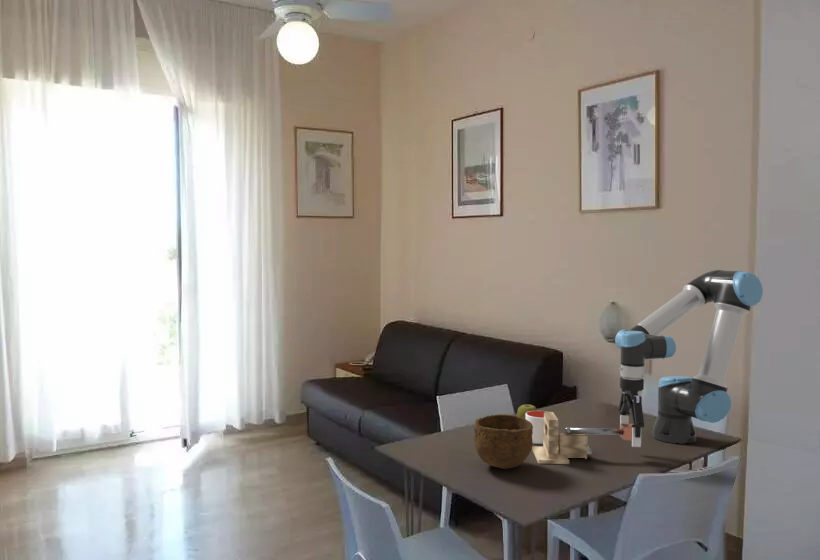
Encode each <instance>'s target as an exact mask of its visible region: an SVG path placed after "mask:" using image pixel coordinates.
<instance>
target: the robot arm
mask: <svg viewBox="0 0 820 560" xmlns="http://www.w3.org/2000/svg"><path fill="white" fill-rule="evenodd" d="M763 289H764V288H763V284H762V282H761V279H760V278H759V277H758V276H757V275H756V274H754V273H752V272H751V271H750V272H749V271H743V270H723V269H715V270H710V271H707V272H705V273H702V274H701V275H699V276H697V277H696V278H694V279H692V280H691V281H689V282H688V283H686V284H685V285H684V286H683V287H682V291H680V292H679V293H678V294H676V295H675V296H674V297H672V298H671V299H670V300H669V301H667V302H666V303H664V304H663V305H662V306H661V307H658V309H656V310H655V311H653V312H652V313H651V314H649V315H648V316H647V317H645V318H644V319H643V320H642V321H640V322H638V324H636V325H634V326H633V327H632V328H630V329H621V330H619V331H618V332H617V333H616V335H615V339H614V341H615V345H616V347H617V348H618V349H620V367H618V370H619V372H620V373H619V375H620V377H619V388H620V389H621V395H620V400H619V405H618V409H617V410H618V412H619V415H620V416H619V422H620V423H619V425H620V424H630V423H629V422H630V415H631V419H632V424H633V425H632V426H631V427H632V440H631V447H632V448H641V447H642V430H643V429H642V428H644V427H645V421H644V413H643V412H644V411H643V404H642V403H643V401H642V399H643V398H642V396H641V395H639V392H642V391H643V390H644V387H645V385H644V383H645V380H644V379H643V378H644V377H645V360H653V359H654V360H655V359H667V358H672V357H673V356H674V355H675V354H676V350H677V343H676V341H675V339H674V338H673V337H672V336H670V335H662V333H664V332H665V331H667V330H668V329H669V328H671V327H672V326H673V325H674V324H676V323H677V322H678V321H680V320H682V319H683V318H684V317H685V316H686V315H688V314H689V313H691V312H693V310H694V309H696V308H702V307H703V306H705V305H706V304H708V303H713V305H714V307H715V308H716V309H715V310H716V311H715V315H714V319H713V322H712V325H711V329H710V333H709V336H708V339H707V343H706V346H705V350H704V353H703V357H702V361H701V363H700V367H699V371H698V374H696V375H694V376H692V377H691V376H687V375H669V376H662V377H661V378H659V381H658V386H657V388H658V389H657V390H658V391H657V394H658V395H657V397H658V399H657V401H658V402H657V417H656V418H655V423H654V425H653V427H652V434H651V435H652V437H653V438H654V439H655V440H657V441H658V440H659V441H661V442H665V443H669V444H670V443H671V444H676V443H679V444H680V445H686V443H689V444H693V442H694V443H696V442H697V433H696V429H695V426H694V422H693V418H695V419H697V420H699V421H702V422H706V423H710V424H712V423H713V424H714V423H719V422H720V421H722V420H724V419H725V418H726V416H727V415H728V414H729V413H730V410H731V407H732V400H731V396H730V395H729V394H728V393H727V392H728V386H727V383H726V378H727V375H728V370H729V367H730V363H731V360H732V356H733V353H734V349H735V347H736V342H737V339H738V335H739V332H740V328H741V324H742V321H743V318H744V316H746V315H747V314H749V313H750V311H751V308H752V307H754V306H757V305H758V303H760V302H761V300H762V297H763V291H764V290H763ZM679 444H678V445H679Z"/></svg>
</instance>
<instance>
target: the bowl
mask: <svg viewBox="0 0 820 560" xmlns="http://www.w3.org/2000/svg"><path fill="white" fill-rule="evenodd" d="M473 428H474V430H473V431H474V437H473V443H474V448H475V451H476V453H477V455H478V456H479V458H480V459H481V461H483V462H484V463H485V464H486V465H488V466H491V467H494V468H499V469H502V470H503V469H504V470H507V469H508V470H509V469H512V468H517V467H518V466H520V465H521V464H522V463H524V461H526V460H527V458H528V456H529V455H530V454H531V452H532V446H533V441H532V434H533V426H532V423H531V422H530V421H528V420H526V419H524V418H521V417H518V415H512V414H507V413H506V414H504V413H503V414H499V413H498V414H492V415H487V416H483V417H479V418H476V420H475V421H474V427H473Z"/></svg>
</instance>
